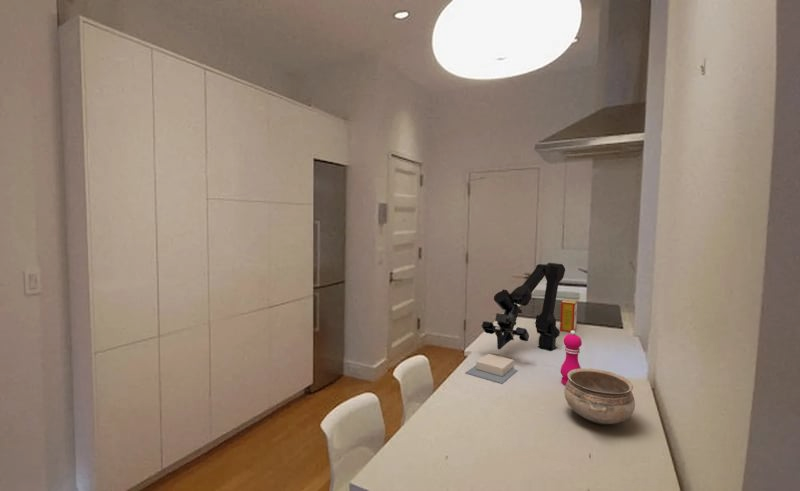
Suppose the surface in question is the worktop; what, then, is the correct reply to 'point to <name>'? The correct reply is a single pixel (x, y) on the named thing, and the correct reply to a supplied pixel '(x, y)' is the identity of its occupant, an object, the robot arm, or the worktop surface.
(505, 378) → the slate mat
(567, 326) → the baking soda box
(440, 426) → the worktop surface
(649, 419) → the worktop surface
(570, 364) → the pepper mill
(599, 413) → the cooking pot
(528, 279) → the robot arm
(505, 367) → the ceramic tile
